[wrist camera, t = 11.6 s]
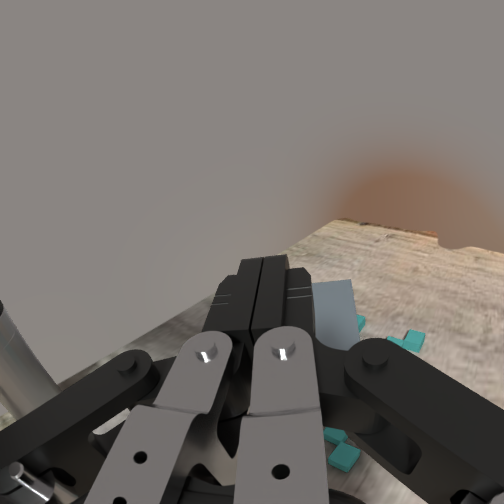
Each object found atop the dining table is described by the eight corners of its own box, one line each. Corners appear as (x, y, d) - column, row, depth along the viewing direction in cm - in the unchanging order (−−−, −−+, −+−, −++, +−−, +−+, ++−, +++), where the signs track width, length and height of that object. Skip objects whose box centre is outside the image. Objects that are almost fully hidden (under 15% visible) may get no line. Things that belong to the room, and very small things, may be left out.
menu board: (288, 355, 33) (296, 285, 46) (292, 373, 35) (298, 301, 47) (361, 349, 31) (350, 279, 44) (360, 367, 33) (351, 296, 45)
